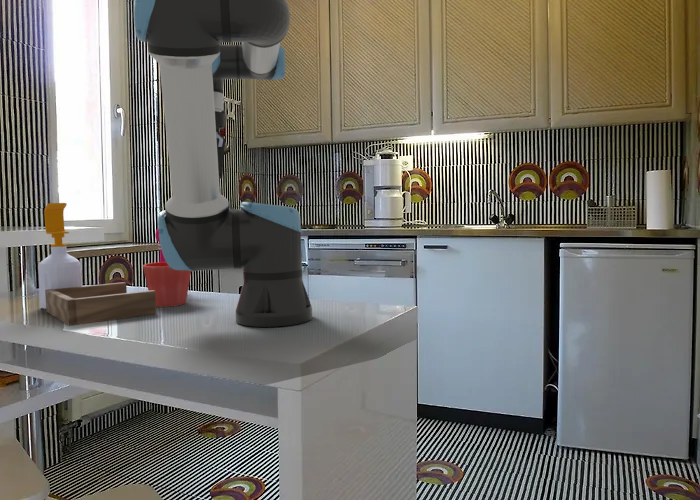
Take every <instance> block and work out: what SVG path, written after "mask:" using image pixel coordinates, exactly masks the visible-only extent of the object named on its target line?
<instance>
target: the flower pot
mask: <svg viewBox="0 0 700 500" xmlns="http://www.w3.org/2000/svg"><path fill="white" fill-rule="evenodd" d="M142 269H143V273H144V277H145V282H146V287H147V291H150V290H154V291H155V300H156V308H157V307H158V308H159V307H161V308H163V307H164V308H165V307H168V308H169V307H177V306H180V305H181V306H183V305H186V302H187V299H188V298H187V296H188V291H189V287H190V279H191V272H192V271H189V270H174V269H172V268H171V267H170V266H169V265H168V264H167V262H158V261H157V262H150V263H145V264H143V265H142Z"/></svg>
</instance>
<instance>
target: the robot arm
mask: <svg viewBox="0 0 700 500" xmlns="http://www.w3.org/2000/svg"><path fill="white" fill-rule="evenodd" d="M290 23H291V13H290V8H289V5H288V2H287V0H134V2H133V24H134V29H135V30H134V32H135V37H136V38H137V39H136V40H139V41H141V42H143V43H147V50H148V51H147V52H148V55H149V56H150V57H151V58H152V59H154V60H155V61H156V62H157V63H158V66H159V74H160V82H161V83H160V84H161V93H162V94H161V95H162V103H163V104H162V105H163V111H164V112H163V114H164V125H165V134H166V144H167V152H168V153H167V155H168V162H169V164H168V165H169V173H170V174H169V175H170V185H171V194H172V196H171V197H170V198H169V199H168V200H167V201H166V202H165V204H164V208H165V210H162V211H160V212H159V214H158V218H157V229H158V230H159V240H160V245H161V249H162V252H163V256H164V258H165V261H166V262H167V264H168V265H169V266H170V267H171V268H172V269H174V270H189V271H191V272H197V271H212V270H213V271H214V270H215V271H216V270H236V269H237V270H238V269H242V272H243V274H242V275H243V281H242V282H243V283H242V286H241V291H240V293H239V298H238V301H237V304H236V309H235V323H236V324H238V325H241V326H246V327H256V328H257V327H258V328H261V327H262V328H264V327H265V328H266V327H267V328H271V327H272V328H273V327H274V328H275V327H285V326H295V325H300V324H303V323H306V322H310V321H311V320H313V308H312V304H311V300H310V298H309V295H308V293H307V289H306V287H305V284H304V280H303V259H302V257H303V256H302V255H303V254H302V235H301V233H303V229H302V228H301V227H302V226H301V223H302V222H301V214H300V212H299V211H298V209H296V208H295V207H292V206H284V205H278V204H277V205H276V204H267V203H258V202H256V203H255V202H250V201H242V202H241V203H240V205H239V209H238V208H237V209H236V208H234V209H231V208H230V206H229V205H230V204H229V200H228V199H227V198H226V197H225V196H224V195H222V194H221V191H220V189H221V188H220V179H223V174H224V159H225V147H226V142H227V139H226V138H225V137H221V132H220V130H221V129H222V130H223V129H224V128H225V126H226V125H225V114H224V112H223V111H224V110H225V108H224V104H225V99H224V86H223V85H224V82H223V81H224V80H263V81H265V80H267V81H272V80H282V79H284V78H285V76H286V51H285V48H284V47H283V46H281V42H282V41H283V40H284V39H285V37H286V36H287V34H288V31H289V27H290ZM221 43H241V44H221Z"/></svg>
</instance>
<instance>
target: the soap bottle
mask: <svg viewBox="0 0 700 500" xmlns="http://www.w3.org/2000/svg"><path fill="white" fill-rule="evenodd" d="M66 206H68V205H67V203H66V202H49V203H47V204H46V205H45V208H44V228H45V233H46V234H47V235H51V238H52V239H53V241H54V243H51V244H50V254H49V255H48V256H47V257H45V258H43V259H42V260H41V261H40V262H39V264H38V267H37V270H38V272H37V273H38V284H39V285H38V287H39V301H40V307H41V309H43V310H46V297H45V290H49V289H59V288H70V287H80V286H83V278H82V277H83V275H82V265H81V262H80V260H78V259H77V258H76V257H75V256H73V255H70V254H69V253H68V251H67V244H66V243H63V238H65V234H70V231H66V230H65V220H64V218H65V217H64V211H65V208H66Z"/></svg>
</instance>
